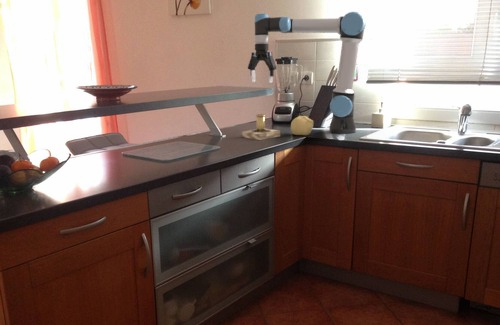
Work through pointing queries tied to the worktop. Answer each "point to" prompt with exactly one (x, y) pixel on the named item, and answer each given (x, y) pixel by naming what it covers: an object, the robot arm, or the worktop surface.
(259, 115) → the bushing
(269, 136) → the jig
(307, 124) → the pale yellow round lump
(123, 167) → the worktop surface
